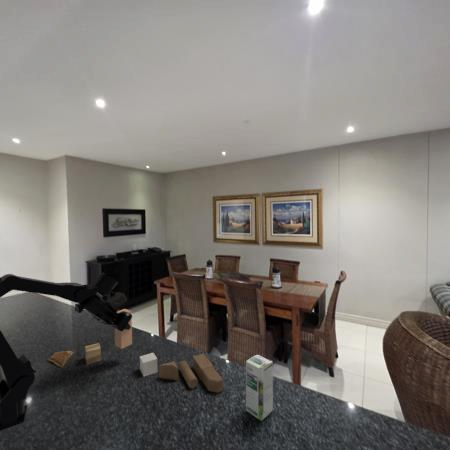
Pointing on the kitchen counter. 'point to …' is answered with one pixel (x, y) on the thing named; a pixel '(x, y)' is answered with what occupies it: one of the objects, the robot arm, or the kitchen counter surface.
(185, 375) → the wooden block set
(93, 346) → the honey oak cube
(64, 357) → the shard
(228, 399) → the kitchen counter surface
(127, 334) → the terracotta block
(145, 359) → the grey plastic cube
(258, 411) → the syrup box
